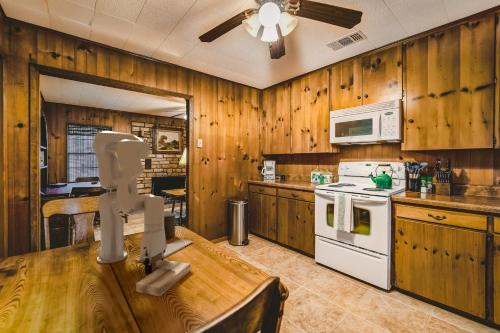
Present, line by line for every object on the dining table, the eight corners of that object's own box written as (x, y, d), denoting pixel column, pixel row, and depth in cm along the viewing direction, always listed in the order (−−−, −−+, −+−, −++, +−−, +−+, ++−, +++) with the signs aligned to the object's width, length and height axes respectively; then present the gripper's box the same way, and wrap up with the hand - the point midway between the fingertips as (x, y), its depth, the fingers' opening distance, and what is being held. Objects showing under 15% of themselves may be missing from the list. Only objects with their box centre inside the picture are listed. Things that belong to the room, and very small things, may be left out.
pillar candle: (165, 240, 138) (165, 214, 138) (154, 237, 143) (155, 212, 143) (178, 236, 146) (178, 212, 146) (168, 233, 151) (168, 210, 151)
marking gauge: (145, 276, 94) (145, 257, 94) (156, 270, 100) (156, 251, 100) (167, 280, 91) (167, 260, 91) (176, 273, 97) (176, 254, 97)
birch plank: (136, 291, 84) (136, 283, 84) (170, 267, 104) (170, 260, 103) (159, 296, 82) (159, 287, 81) (190, 270, 101) (190, 263, 101)
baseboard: (131, 261, 111) (151, 266, 106) (131, 255, 111) (151, 259, 106) (176, 240, 139) (193, 243, 134) (176, 236, 139) (193, 238, 134)
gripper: (160, 220, 105) (160, 260, 106) (130, 232, 89) (130, 279, 89) (174, 222, 103) (174, 263, 104) (146, 234, 87) (146, 282, 87)
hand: (154, 270), depth 97 cm, fingers closed on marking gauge, 6 cm apart
